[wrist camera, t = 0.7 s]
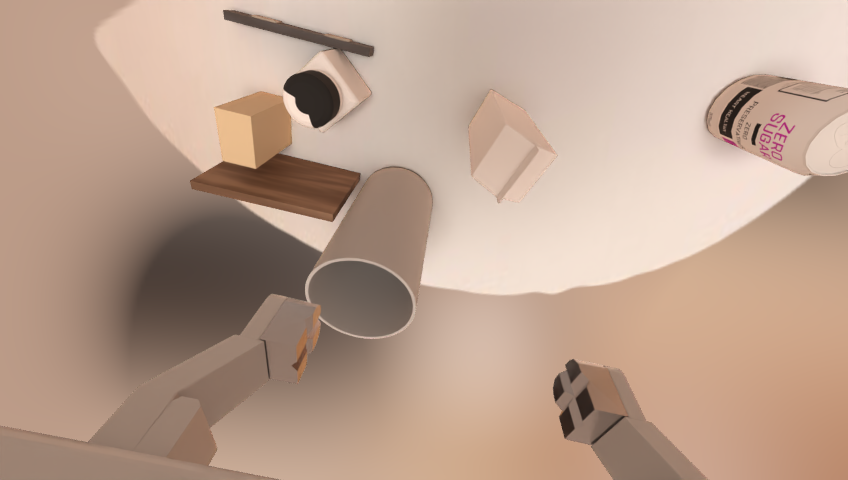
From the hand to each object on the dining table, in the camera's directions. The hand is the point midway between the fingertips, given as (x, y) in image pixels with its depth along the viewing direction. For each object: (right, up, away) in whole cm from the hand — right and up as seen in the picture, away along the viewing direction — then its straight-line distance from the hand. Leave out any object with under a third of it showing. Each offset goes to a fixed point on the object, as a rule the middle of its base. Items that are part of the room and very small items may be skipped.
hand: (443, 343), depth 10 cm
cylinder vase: (-5, +11, +46) cm, 47 cm away
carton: (-24, +23, +40) cm, 51 cm away
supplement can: (+42, +21, +33) cm, 57 cm away
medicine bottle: (-13, +26, +36) cm, 46 cm away
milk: (+10, +21, +37) cm, 43 cm away
